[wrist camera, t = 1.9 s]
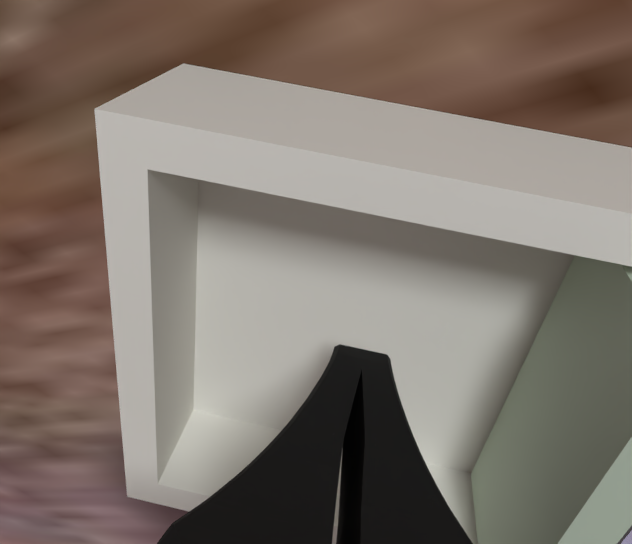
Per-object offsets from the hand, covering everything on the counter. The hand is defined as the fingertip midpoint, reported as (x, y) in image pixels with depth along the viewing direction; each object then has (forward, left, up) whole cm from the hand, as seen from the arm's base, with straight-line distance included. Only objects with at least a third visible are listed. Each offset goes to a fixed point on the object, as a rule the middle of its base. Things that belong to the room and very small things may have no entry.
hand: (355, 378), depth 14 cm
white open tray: (0, 0, -4) cm, 4 cm away
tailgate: (-5, -2, -2) cm, 6 cm away
